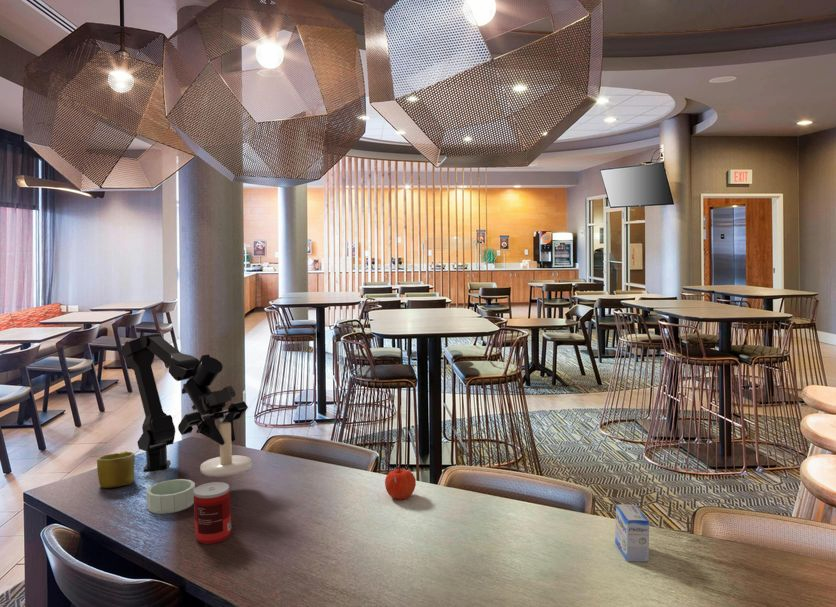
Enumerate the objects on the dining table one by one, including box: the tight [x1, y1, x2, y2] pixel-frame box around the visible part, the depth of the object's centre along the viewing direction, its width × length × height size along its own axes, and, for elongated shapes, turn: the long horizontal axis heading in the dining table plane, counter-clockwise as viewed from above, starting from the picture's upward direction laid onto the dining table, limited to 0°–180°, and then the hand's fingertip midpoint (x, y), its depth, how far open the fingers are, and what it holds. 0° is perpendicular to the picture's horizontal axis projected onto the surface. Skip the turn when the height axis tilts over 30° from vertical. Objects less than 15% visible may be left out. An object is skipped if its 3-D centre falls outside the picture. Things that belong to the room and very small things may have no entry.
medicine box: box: [614, 504, 650, 563], centre depth 120 cm, size 8×4×9 cm, turn 178°
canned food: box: [193, 481, 232, 545], centre depth 130 cm, size 8×8×11 cm
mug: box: [96, 450, 136, 489], centre depth 163 cm, size 12×10×10 cm
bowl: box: [145, 478, 196, 515], centre depth 147 cm, size 11×11×4 cm
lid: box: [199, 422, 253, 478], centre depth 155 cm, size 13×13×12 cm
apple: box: [384, 466, 417, 500], centre depth 150 cm, size 8×8×8 cm
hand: (228, 442), depth 154 cm, fingers closed on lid, 3 cm apart
